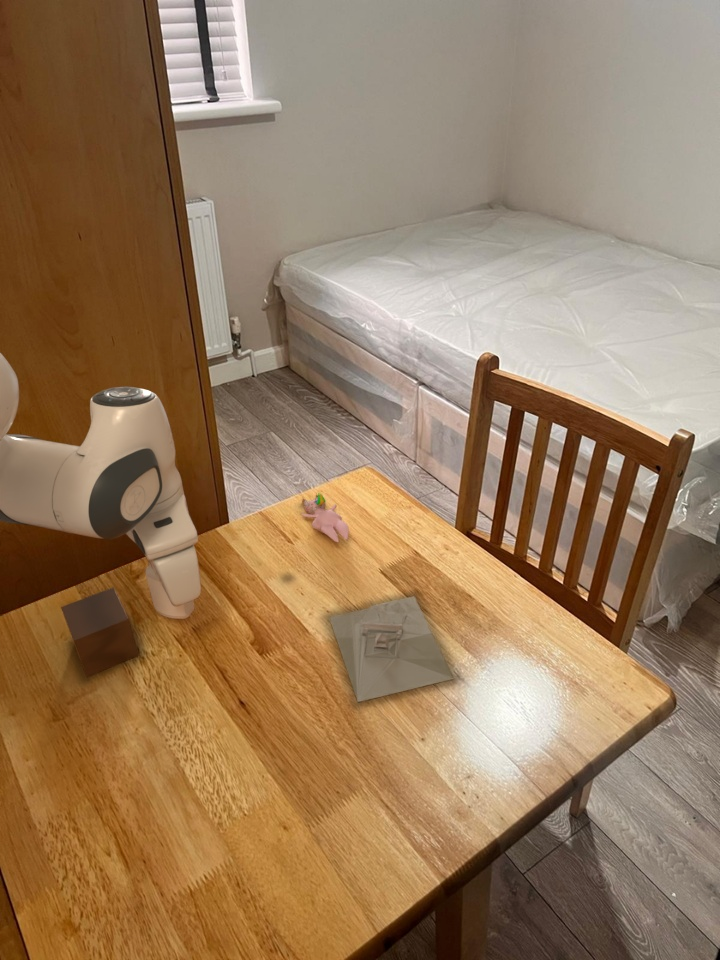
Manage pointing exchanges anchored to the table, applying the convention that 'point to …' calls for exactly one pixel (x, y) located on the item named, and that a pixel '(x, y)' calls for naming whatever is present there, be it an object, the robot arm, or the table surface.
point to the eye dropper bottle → (165, 599)
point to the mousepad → (389, 649)
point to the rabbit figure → (325, 518)
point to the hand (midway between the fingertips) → (168, 586)
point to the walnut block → (100, 631)
